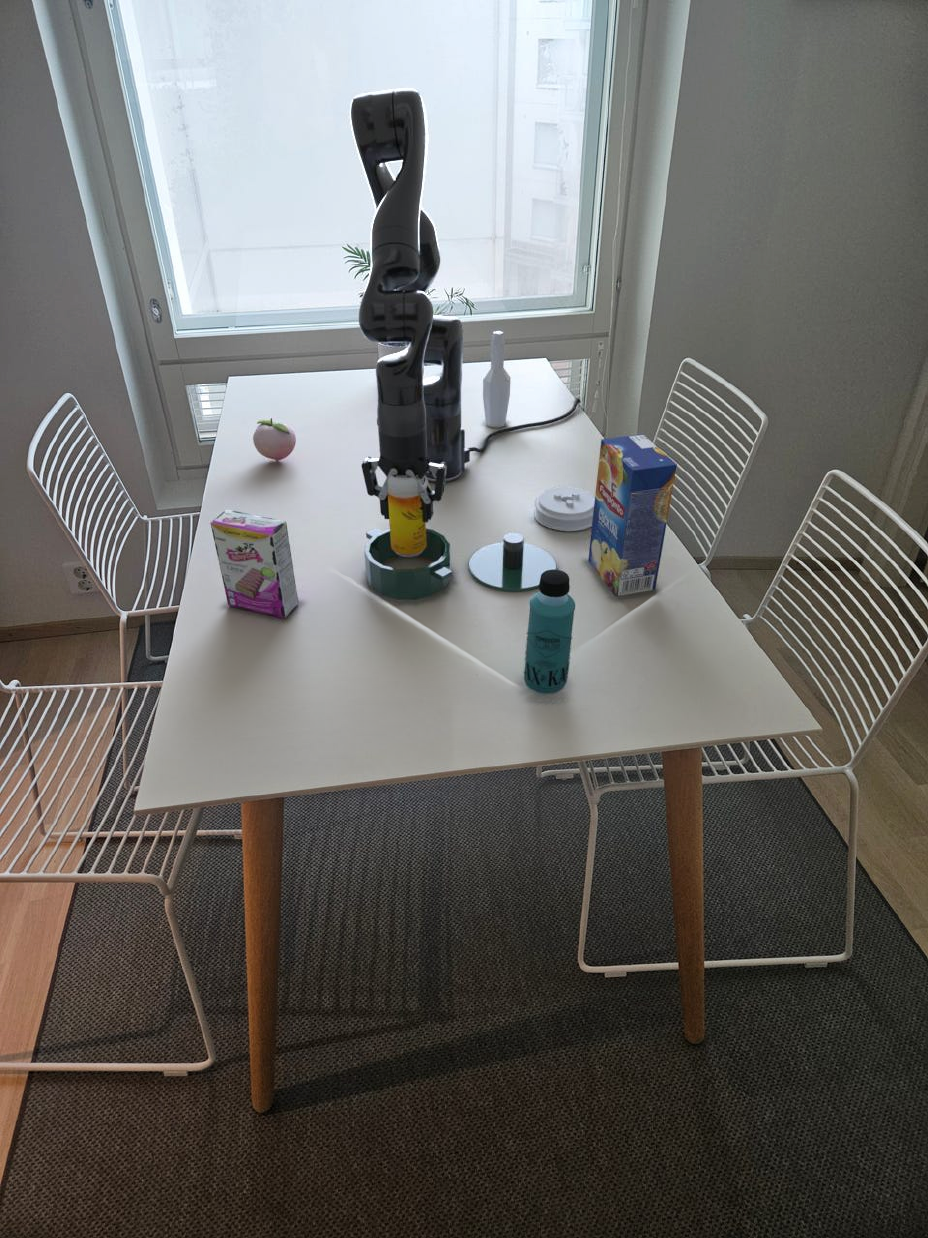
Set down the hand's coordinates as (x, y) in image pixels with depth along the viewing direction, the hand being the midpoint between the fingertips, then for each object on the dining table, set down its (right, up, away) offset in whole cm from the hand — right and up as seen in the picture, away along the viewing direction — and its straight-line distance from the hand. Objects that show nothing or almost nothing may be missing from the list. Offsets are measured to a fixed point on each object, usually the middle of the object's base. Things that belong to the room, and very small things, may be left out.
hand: (407, 518), depth 135 cm
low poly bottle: (+17, +31, +61) cm, 71 cm away
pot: (0, -10, +7) cm, 12 cm away
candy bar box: (-24, -15, +1) cm, 28 cm away
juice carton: (+37, -10, +7) cm, 39 cm away
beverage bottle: (+22, -27, -16) cm, 38 cm away
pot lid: (+18, -8, +9) cm, 22 cm away
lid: (+30, +3, +24) cm, 38 cm away
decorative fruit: (-32, +18, +45) cm, 58 cm away
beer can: (0, -5, +4) cm, 6 cm away
